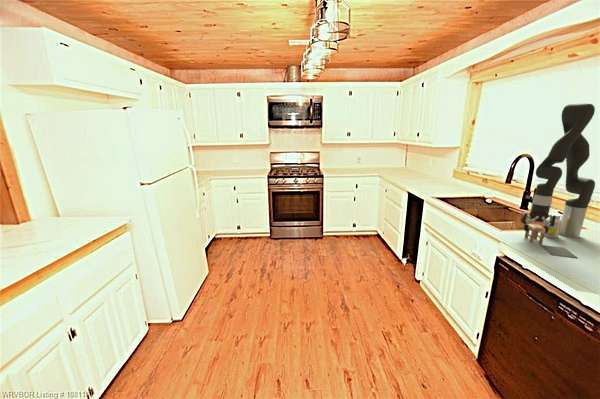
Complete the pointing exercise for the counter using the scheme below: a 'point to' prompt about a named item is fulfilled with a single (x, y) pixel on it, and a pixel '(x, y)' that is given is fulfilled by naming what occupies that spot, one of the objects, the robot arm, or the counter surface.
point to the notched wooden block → (535, 233)
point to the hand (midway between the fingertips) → (535, 231)
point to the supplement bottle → (554, 227)
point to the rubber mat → (558, 251)
